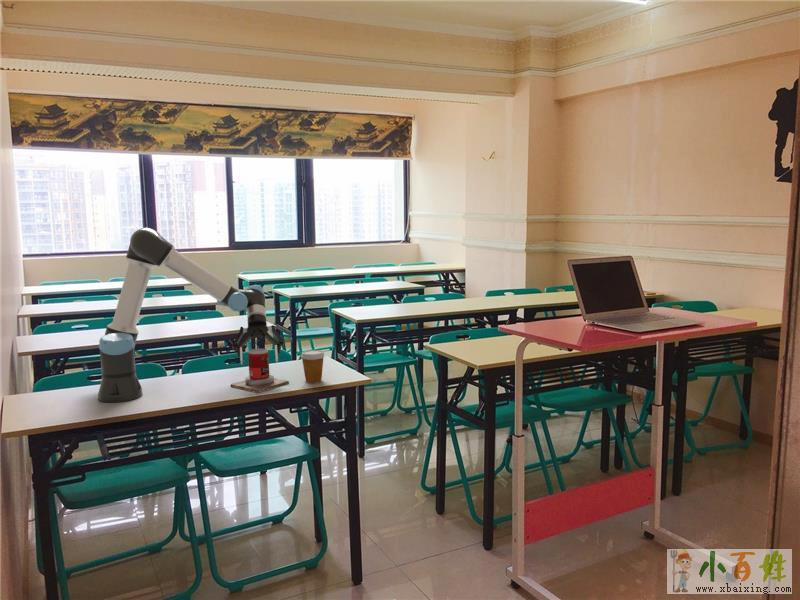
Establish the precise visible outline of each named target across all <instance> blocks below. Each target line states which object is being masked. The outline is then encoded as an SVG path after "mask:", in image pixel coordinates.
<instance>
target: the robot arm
mask: <svg viewBox="0 0 800 600" xmlns="http://www.w3.org/2000/svg"><path fill="white" fill-rule="evenodd" d="M126 252H127V253H126V256H125V259H126V260H127V262H128V265H127V269H126V273H125V276H124V280H123V284H122V287H121V291H120V294H119V298H118V301H117V304H116V305H117V306H116V308H115V312H114V317H113V320H112V322H111V323H109V324H107V326H106V329H105V332H104V335H102V336H101V337H100V339H99V340H98V341H99V342H98V349H99V357H100V369H101V371H100V372H101V381H100V384H99V389H98V393H97V396H98V397H97V398H98V401H99V402H103V403H119V402H127V401H131V400H134V399H138V398H140V397H141V396H143V387H142V386H141V383H140V381H139V378H138V377H137V374H136V373H137V371H136V369H137V368H136V360H135V359H136V357H135V346H136V343H137V340H138V335H139V330H138V329H137V323H138V320H139V317H140V313H141V309H142V306H143V301H144V299H145V295H146V291H147V288H148V284H149V280H150V277H151V273H152V270H153V269H154V268H156V267H157V266H158V267H159V268H160V267H164V268H166V269H167V270H169V271H170V272H172V273H174V274H175V275H177V276H178V277H180V278H181V279H183V280H184V281H186V282H189V283H190V284H191V285H193V286H194V287H196V288H198V289H199V290H201V291H202V292H204V293H206V294H207V295H209V296H210V297H212V298H213V299H215V300H216V304H217V305H218V306H222V307H228V308H229V309H230V310H232V311H234V312H241V311H243V310H245V309H246V316H247V327H243V326H240V327H239V332H238V333H237V335H236V337H235V339H234V340H233V342H232V344H231V346H232V350H236V356H237V357H238V358H239V357H240V359H239V360H240V365H241V366H242V365H244V363H243V362H244V361H243V360H244V359H243V347H245V345H246V344H247V343H248V342H249V341H251V340H252V339H257V338H258V339H262V338H264V339H265V340H267V341H268V342H269V343H271V344H272V345H273V346H274V355H275V363H279V356H278V355H280V354H281V347H284V346H285V341H284V339H283V338H282V337H281V335H280V334H279V333H278V331H277V330H276V327H275V325H271V326H269V327H268V326H267V324H268V323H267V311H266V296H265V290H264V288H263V286H261V285H259V284H254V285H249V286H248V287H246V289H238V288H235V287H233V286H231V285H230V284H228V283H227V282H225V280H222V279H221V278H219V277H218V276H217V275H215V274H213V273H212V272H210V271H209V270H207V269H206V268H204V267H203V266H201V265H199V264H198V263H197V262H195V261H193V260H192V259H191V258H189V257H187V256H186V255H184V254H182V253H181V252H179V251H178V250H177V249H176V248H175V245H173V244H172V243H171V242H169V241H168V240H167V239H166V238H164V237H163V236H162V235H161V234H160V232H158V231H157V230H155V229H152V228H149V227H142V228H139V229H137V230H135V231H134V232H133V233H132V235H131V237H130V239H129V246H128V249H127V251H126ZM268 331H269V332H270V333H272V335H271V334H270V333H269V332H268ZM245 333H247V334H246V336H244V335H245ZM243 336H244V337H243ZM273 336H274V337H273ZM241 339H242V340H241Z"/></svg>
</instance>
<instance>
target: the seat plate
mask: <svg viewBox="0 0 800 600" xmlns="http://www.w3.org/2000/svg"><path fill="white" fill-rule="evenodd" d="M287 383H290V381H289V380H286V379H282V378H280V379H279V378H276V377H275V378H274V375H272V374H269V377H268V378H267V379H263V380H253V379H250V377H249V375H248V376H247V377H245V380H241V381H237V382H235V383H231V384H230V387H231V388H235V389H239V390H243V389H245V390H244V391H248V390H250V391H249V392H252V391H255V392H254V393H257V392H259V393H261V392H260V391H262V392H264V391H263V390H266V391H268V390H267V389H269V390H271V389H270V388H272V389H275V388H274V387H276V388H278V387H277V386H279V387H281V386H280V385H282V386H284V385H283V384H285V385H288V384H287Z"/></svg>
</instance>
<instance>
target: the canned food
mask: <svg viewBox="0 0 800 600" xmlns="http://www.w3.org/2000/svg"><path fill="white" fill-rule="evenodd" d="M247 354H248V355H247V357H248V359H247V360H248V376H249V377H250V379H253V380H263V379H267V378H268V377H269V375H270V358H269V356H270V355H269V350H268V349H267V348H252V349H249V350H247Z"/></svg>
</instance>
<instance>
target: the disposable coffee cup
mask: <svg viewBox="0 0 800 600" xmlns="http://www.w3.org/2000/svg"><path fill="white" fill-rule="evenodd" d="M300 357H301V360H302V366H303V367H302V368H303V372H304V378H305V382H306V383H309V384H317V383H321V382H322V377H323V367H324V358H325V352H324V351H323V350H321V349H320V350H319V349H308V350H304V351H302V352H301V355H300ZM320 381H321V382H320Z"/></svg>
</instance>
